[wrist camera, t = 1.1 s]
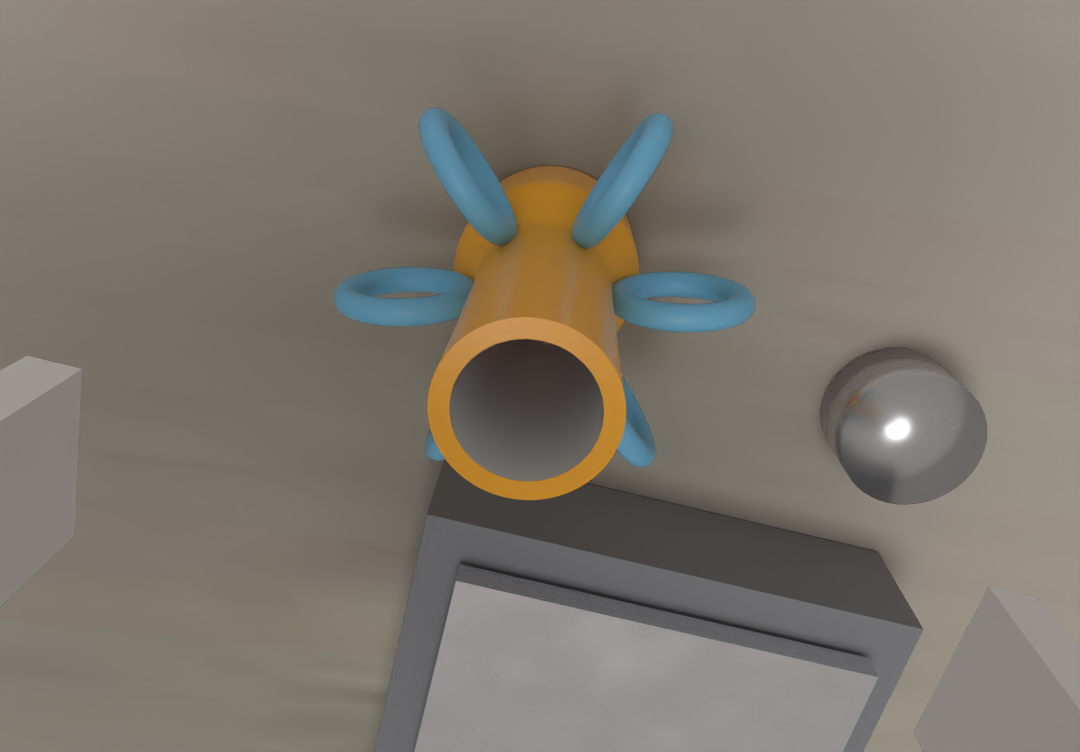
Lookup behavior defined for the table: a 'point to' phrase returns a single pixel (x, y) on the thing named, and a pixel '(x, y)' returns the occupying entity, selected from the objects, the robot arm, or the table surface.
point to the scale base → (649, 581)
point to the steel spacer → (902, 426)
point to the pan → (626, 679)
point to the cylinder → (540, 314)
